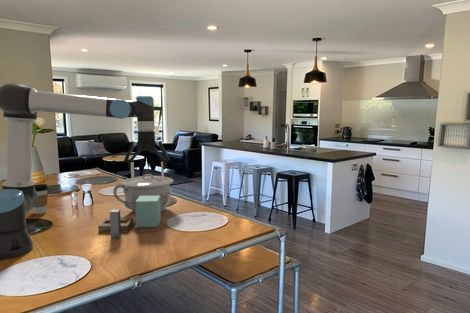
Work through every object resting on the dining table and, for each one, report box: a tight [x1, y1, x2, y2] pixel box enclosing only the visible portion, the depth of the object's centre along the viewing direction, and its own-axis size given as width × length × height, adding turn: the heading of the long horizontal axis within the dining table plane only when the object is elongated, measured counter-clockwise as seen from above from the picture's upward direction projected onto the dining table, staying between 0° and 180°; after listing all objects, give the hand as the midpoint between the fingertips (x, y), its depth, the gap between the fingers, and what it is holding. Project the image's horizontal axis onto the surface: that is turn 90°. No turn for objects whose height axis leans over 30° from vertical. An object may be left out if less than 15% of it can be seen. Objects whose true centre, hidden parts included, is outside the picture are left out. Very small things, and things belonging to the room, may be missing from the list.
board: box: [134, 218, 164, 233], centre depth 157 cm, size 11×11×10 cm
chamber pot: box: [112, 173, 175, 214], centre depth 182 cm, size 28×28×21 cm
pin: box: [109, 208, 122, 240], centre depth 144 cm, size 3×3×12 cm
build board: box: [97, 217, 134, 233], centre depth 157 cm, size 11×13×3 cm
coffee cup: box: [33, 183, 49, 215], centre depth 179 cm, size 8×8×15 cm
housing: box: [135, 196, 162, 227], centre depth 157 cm, size 10×10×12 cm
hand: (147, 176), depth 155 cm, fingers open, 13 cm apart
